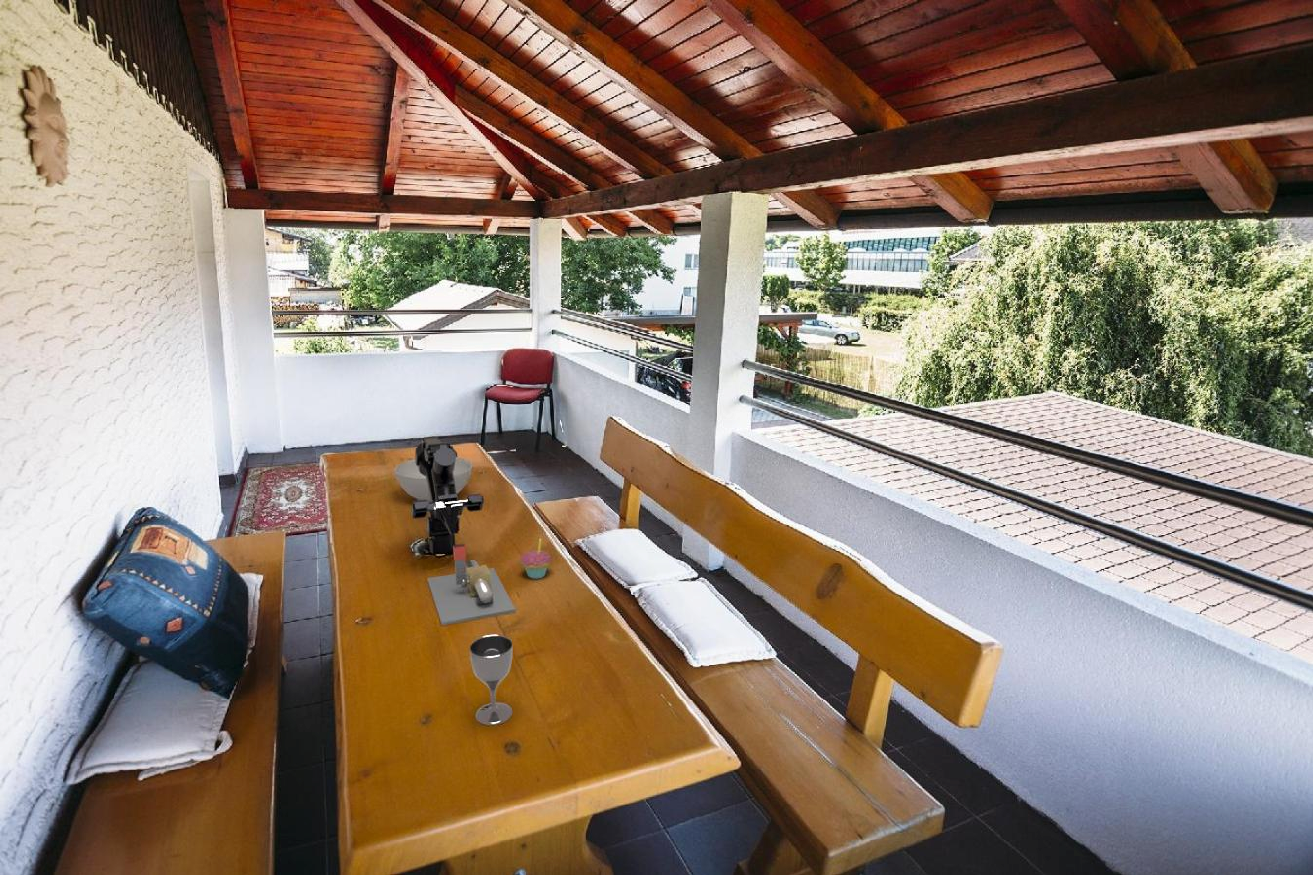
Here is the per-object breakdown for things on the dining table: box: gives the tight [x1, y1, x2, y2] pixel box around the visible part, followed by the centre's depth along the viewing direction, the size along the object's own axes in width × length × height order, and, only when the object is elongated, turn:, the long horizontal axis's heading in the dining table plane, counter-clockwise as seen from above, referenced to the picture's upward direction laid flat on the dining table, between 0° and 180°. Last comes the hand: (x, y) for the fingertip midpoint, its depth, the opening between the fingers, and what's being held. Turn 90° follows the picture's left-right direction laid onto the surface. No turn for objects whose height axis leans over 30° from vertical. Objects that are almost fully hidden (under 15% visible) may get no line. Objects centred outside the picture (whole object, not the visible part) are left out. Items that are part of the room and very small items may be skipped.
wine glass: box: [469, 634, 513, 726], centre depth 140 cm, size 8×8×15 cm
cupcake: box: [519, 537, 552, 580], centre depth 201 cm, size 9×8×12 cm
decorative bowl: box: [393, 457, 474, 503], centre depth 259 cm, size 27×27×12 cm
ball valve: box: [465, 559, 493, 606], centre depth 189 cm, size 20×6×6 cm, turn 25°
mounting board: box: [427, 567, 517, 626], centre depth 189 cm, size 26×18×1 cm
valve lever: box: [453, 543, 467, 588], centre depth 186 cm, size 2×3×12 cm
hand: (452, 534), depth 194 cm, fingers closed
